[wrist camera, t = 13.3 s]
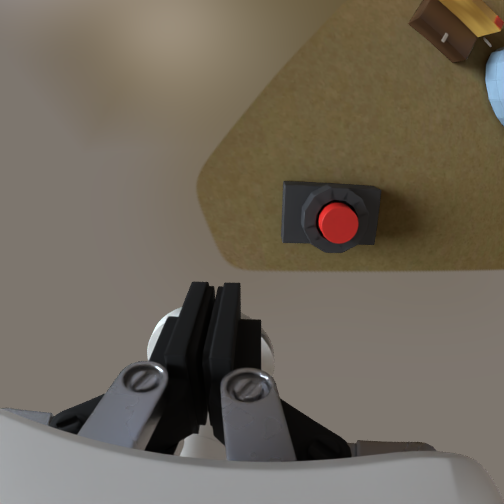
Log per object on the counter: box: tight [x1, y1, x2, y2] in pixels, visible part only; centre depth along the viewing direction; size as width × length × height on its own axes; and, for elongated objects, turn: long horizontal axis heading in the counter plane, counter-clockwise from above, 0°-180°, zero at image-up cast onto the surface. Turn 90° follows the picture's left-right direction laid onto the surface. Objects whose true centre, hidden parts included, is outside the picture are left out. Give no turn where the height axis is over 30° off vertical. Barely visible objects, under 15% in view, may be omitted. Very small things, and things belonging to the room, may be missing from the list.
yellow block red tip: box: [439, 0, 504, 37], centre depth 18 cm, size 7×2×5 cm, turn 59°
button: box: [318, 202, 359, 244], centre depth 29 cm, size 4×4×2 cm
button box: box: [281, 181, 381, 253], centre depth 31 cm, size 10×6×4 cm, turn 89°
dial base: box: [408, 0, 492, 63], centre depth 22 cm, size 11×11×3 cm
